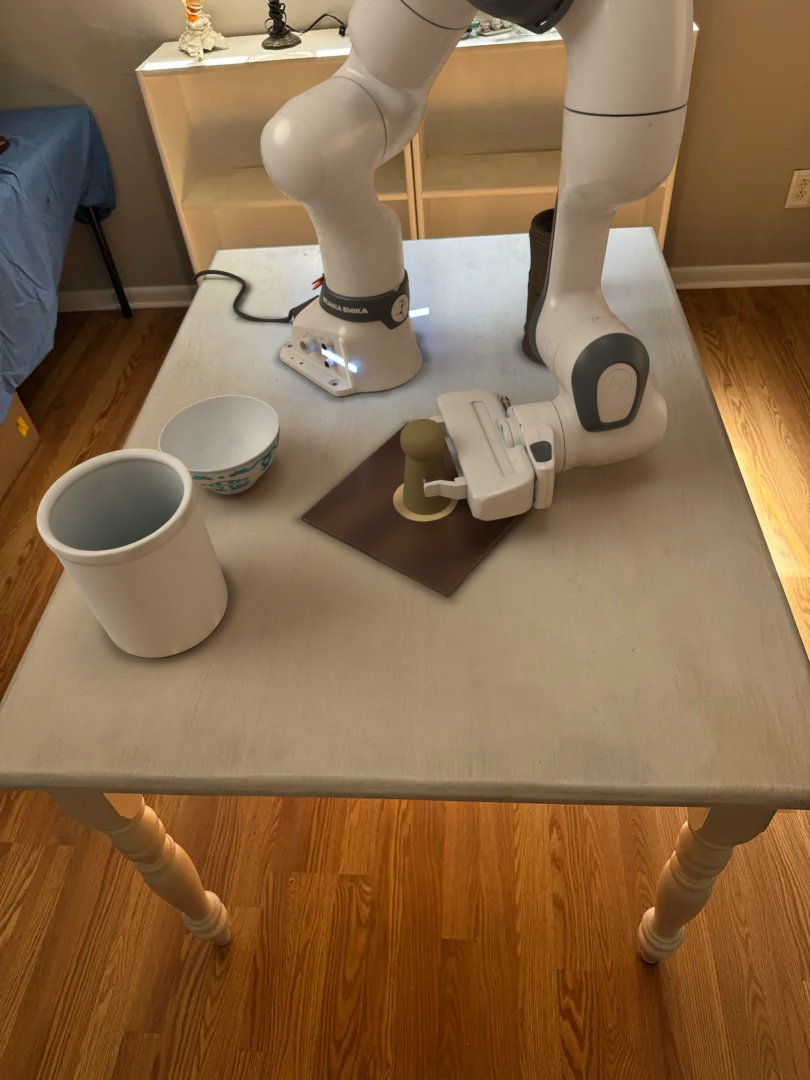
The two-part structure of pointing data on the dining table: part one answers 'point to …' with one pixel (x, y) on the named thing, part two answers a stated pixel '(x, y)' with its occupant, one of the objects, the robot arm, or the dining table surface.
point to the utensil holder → (137, 549)
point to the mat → (405, 522)
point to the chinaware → (223, 441)
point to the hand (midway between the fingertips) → (415, 461)
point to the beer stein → (537, 268)
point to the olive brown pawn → (423, 465)
